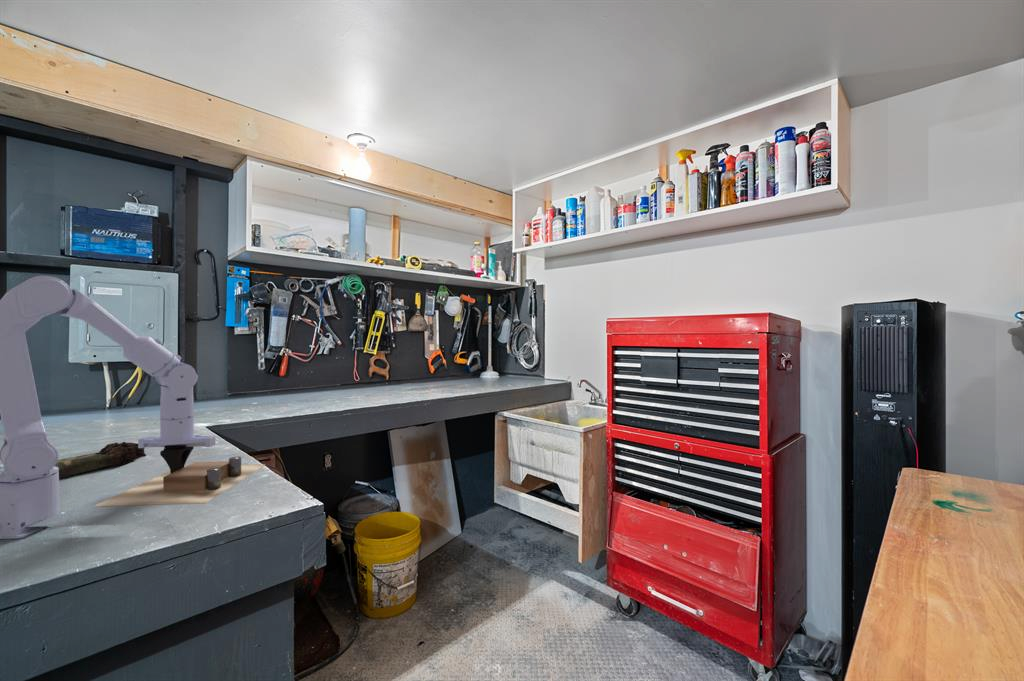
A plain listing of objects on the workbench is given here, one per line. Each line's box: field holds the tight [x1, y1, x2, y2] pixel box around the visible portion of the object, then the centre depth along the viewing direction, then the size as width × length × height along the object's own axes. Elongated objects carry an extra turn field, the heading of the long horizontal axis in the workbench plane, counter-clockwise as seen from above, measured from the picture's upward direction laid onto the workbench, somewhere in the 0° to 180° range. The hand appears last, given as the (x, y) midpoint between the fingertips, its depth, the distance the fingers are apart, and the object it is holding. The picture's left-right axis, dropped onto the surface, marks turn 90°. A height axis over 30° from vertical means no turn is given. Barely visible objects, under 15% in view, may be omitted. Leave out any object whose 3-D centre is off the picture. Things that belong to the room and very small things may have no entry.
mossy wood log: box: [55, 441, 147, 480], centre depth 107 cm, size 18×7×6 cm, turn 151°
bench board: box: [92, 456, 266, 508], centre depth 93 cm, size 24×20×6 cm
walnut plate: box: [163, 460, 229, 491], centre depth 93 cm, size 10×8×3 cm
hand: (177, 479), depth 93 cm, fingers closed, pressing on walnut plate
